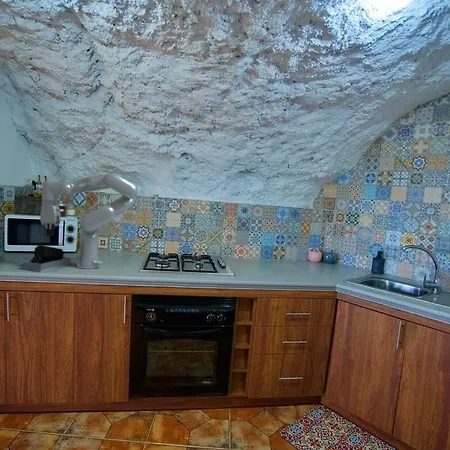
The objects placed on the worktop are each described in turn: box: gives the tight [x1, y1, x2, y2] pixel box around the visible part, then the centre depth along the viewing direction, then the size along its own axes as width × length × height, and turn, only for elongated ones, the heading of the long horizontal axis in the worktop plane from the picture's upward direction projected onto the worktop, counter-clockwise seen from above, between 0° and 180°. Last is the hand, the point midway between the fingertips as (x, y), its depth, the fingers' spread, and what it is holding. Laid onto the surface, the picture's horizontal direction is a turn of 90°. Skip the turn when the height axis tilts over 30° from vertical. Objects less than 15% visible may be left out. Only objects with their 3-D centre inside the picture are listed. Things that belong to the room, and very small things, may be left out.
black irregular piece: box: [30, 244, 65, 264], centre depth 180 cm, size 7×18×10 cm, turn 166°
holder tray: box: [23, 256, 71, 273], centre depth 181 cm, size 11×22×4 cm, turn 166°
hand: (50, 235), depth 180 cm, fingers closed
